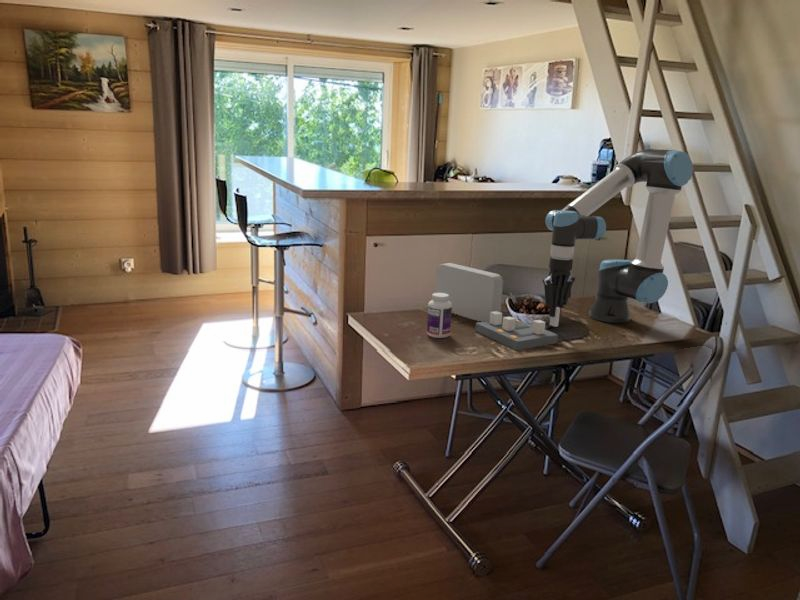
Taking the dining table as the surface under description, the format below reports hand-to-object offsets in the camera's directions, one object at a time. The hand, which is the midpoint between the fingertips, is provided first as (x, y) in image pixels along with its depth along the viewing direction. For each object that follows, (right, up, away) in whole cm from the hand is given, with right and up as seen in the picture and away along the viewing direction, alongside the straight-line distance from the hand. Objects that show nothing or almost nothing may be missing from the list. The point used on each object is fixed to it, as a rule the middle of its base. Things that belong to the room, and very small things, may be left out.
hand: (553, 325), depth 215 cm
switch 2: (-6, -2, -3) cm, 7 cm away
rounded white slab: (-28, +3, +26) cm, 38 cm away
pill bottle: (-40, -4, 0) cm, 40 cm away
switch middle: (-16, -1, -1) cm, 16 cm away
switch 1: (-19, 0, +5) cm, 20 cm away
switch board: (-13, -4, +2) cm, 14 cm away
